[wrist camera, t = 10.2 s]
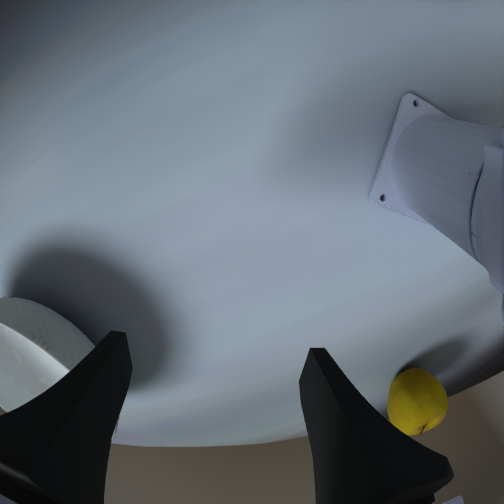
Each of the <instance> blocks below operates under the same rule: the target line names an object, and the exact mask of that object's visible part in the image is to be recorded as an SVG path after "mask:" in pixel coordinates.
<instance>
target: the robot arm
mask: <svg viewBox="0 0 504 504" xmlns="http://www.w3.org/2000/svg"><path fill="white" fill-rule="evenodd" d="M414 100H415V101H416V103H417V105H416V107H415V106H414V104H413V101H414ZM383 194H384V198H383V200H380V196H381V195H383ZM369 198H370V200H371V201H373V202H374V203H377V204H380V205H382V206H385V207H388V208H390V209H393V210H395V211H398V212H400V213H403V214H405V215H408V216H410V217H413V218H415V219H418V220H420V221H423V222H425V223H427V224H430V225H432V226H433V227H435V228H436V229H437V230H439V231H440V232H441V233H443V234H444V235H445V236H446V237H448V238H449V239H450V240H452V241H453V242H454V243H455V244H457V245H458V246H459V247H460V248H462V249H463V250H464V251H465V252H467V253H468V254H469V255H470V256H472V257H473V258H474V259H475V260H476V261H478V262H479V263H480V264H481V265H483V266H484V267H485V268H486V269H487V270H488V272H489V275H490V283H491V284H492V285H493V286H494V287H495V288H496V289H498V290H499V291H500V292H501V293H502V294H503V299H502V306H501V310H502V319H503V323H504V126H503V127H502V128H497V127H493V126H488V125H483V124H478V123H473V122H467V121H462V120H455V119H452V118H451V117H449V116H448V115H446V114H445V113H443V112H442V111H440V110H438V109H437V108H435V107H434V106H432V105H430V104H429V103H427V102H425V101H424V100H422V99H420V98H419V97H417V96H415V95H414V94H412V93H405V94H403V96H402V99H401V102H400V105H399V108H398V112H397V115H396V118H395V121H394V124H393V127H392V130H391V133H390V136H389V139H388V142H387V145H386V148H385V150H384V153H383V156H382V159H381V162H380V164H379V167H378V170H377V173H376V175H375V178H374V181H373V183H372V186H371V188H370V191H369ZM132 368H133V367H132V363H131V358H130V353H129V348H128V342H127V337H126V333H124V332H118V331H111V332H109V333H108V334H107V335H106V336H105V337H104V338H103V339H102V340H101V341H100V342H99V343H98V344H97V346H96V347H95V348H94V349H93V350H92V351H91V352H90V353H89V354H88V355H86V356H85V357H84V358H83V359H82V360H81V361H80V362H79V363H78V364H77V365H76V366H75V367H74V368H73V369H72V370H70V371H69V372H68V373H67V374H66V375H65V376H64V377H63V378H61V379H60V380H59V381H58V382H56V383H55V384H54V385H53V386H51V387H50V388H48V389H47V390H46V391H44V392H43V393H41V394H40V395H38V396H37V397H35V398H33V399H32V400H30V401H29V402H27V403H25V404H23V405H22V406H20V407H18V408H16V409H14V410H12V411H10V412H7V413H5V414H3V415H1V416H0V504H104V490H105V479H106V471H107V463H108V457H109V450H110V446H111V441H112V437H113V433H114V430H115V427H116V424H117V421H118V418H119V415H120V412H121V409H122V406H123V403H124V400H125V397H126V394H127V391H128V387H129V383H130V378H131V373H132ZM299 387H300V398H301V405H302V410H303V414H304V419H305V423H306V428H307V432H308V436H309V441H310V445H311V450H312V456H313V466H314V477H315V491H316V504H432V502H434V501H435V498H434V495H433V494H434V493H435V492H437V491H438V490H439V489H441V488H442V487H443V486H445V485H446V484H448V483H449V482H450V481H451V480H452V479H453V477H454V473H453V471H452V468H451V466H450V463H449V461H448V459H447V457H445V456H443V455H441V454H439V453H437V452H435V451H433V450H431V449H429V448H427V447H425V446H423V445H422V444H420V443H418V442H417V441H415V440H413V439H412V438H410V437H409V436H407V435H406V434H405V433H403V432H402V431H401V430H399V429H398V428H397V427H395V426H394V425H393V424H391V423H390V422H389V421H388V420H387V419H385V418H384V417H383V416H382V415H381V414H380V413H379V412H378V411H377V410H376V409H375V408H374V407H373V406H372V405H371V404H370V403H369V402H368V401H367V400H366V399H365V398H364V397H363V396H362V395H361V394H360V392H359V391H358V390H357V389H356V388H355V387H354V385H353V384H352V383H351V382H350V380H349V379H348V378H347V377H346V375H345V374H344V373H343V372H342V370H341V369H340V368H339V366H338V365H337V364H336V362H335V361H334V360H333V358H332V357H331V356H330V354H329V353H328V352H327V350H326V349H325V348H310V350H309V353H308V356H307V359H306V362H305V365H304V368H303V371H302V374H301V377H300V380H299ZM442 504H464V503H463V500H462V497H461V496H458V497H456V498H454V499H452V500H449V501H447V502H445V503H442Z"/></svg>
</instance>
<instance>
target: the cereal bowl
mask: <svg viewBox="0 0 504 504" xmlns="http://www.w3.org/2000/svg"><path fill="white" fill-rule="evenodd" d="M95 347H96V346H95V345H94V344H93V343H92V342H91V341H90V340H89V339H88V337H86V335H84V334H83V333H82V332H81V330H79V329H78V328H77V327H75V326H74V325H73V323H71V322H70V321H68V320H66V319H65V318H64V317H62V316H61V315H59V314H58V313H56V312H54V311H53V310H51V309H50V308H47V307H45V306H43V305H41V304H39V303H36V302H34V301H31V300H27V299H24V298H18V297H15V298H14V297H2V298H0V406H1V407H2V408H3V409H4V410H5V411H6V412H10V411H12V410H14V409H16V408H18V407H20V406H22V405H23V404H25V403H27V402H29V401H30V400H32V399H33V398H35V397H37V396H38V395H40V394H41V393H43V392H44V391H46V390H47V389H48V388H50V387H51V386H53V385H54V384H55V383H56V382H58V381H59V380H60V379H61V378H63V377H64V376H65V375H66V374H67V373H68V372H69V371H70V370H72V369H73V368H74V367H75V366H76V365H77V364H78V363H79V362H80V361H81V360H82V359H83V358H84V357H85V356H86V355H88V354H89V353H90V352H91V351H92V350H93V349H94V348H95ZM118 420H119V418H118ZM117 427H118V421H117V424H116V427H115V430H114V433H113V437H112V439H113V438H114V436H115V434H116V430H117Z"/></svg>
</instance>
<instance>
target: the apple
mask: <svg viewBox="0 0 504 504" xmlns="http://www.w3.org/2000/svg"><path fill="white" fill-rule="evenodd" d="M447 408H448V399H447V395H446V392H445V389H444V387H443V386H442V384H441V383H440V382H439V381H438V379H436V378H435V377H434V376H433V375H431V374H430V373H428V372H427V371H425V370H423V369H421V368H416V367H412V368H410V369H407V370H406V371H404V372H402V373H400V374H398V375H397V377H396V378H395V379H394V380H393V382H392V384H391V387H390V389H389V398H388V415H389V418H390V421H391V423H392V424H393V425H394V426H395V427H397V428H398V429H399V430H401V431H402V432H403V433H405V434H406V435H415V434H419V435H421V434H422V432H424V431H427V430H429V429H431V428H433V427H435V426H436V425H438V424H439V423H440V422H441V421H442V420H443V418H444V417H445V415H446V412H447Z"/></svg>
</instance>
